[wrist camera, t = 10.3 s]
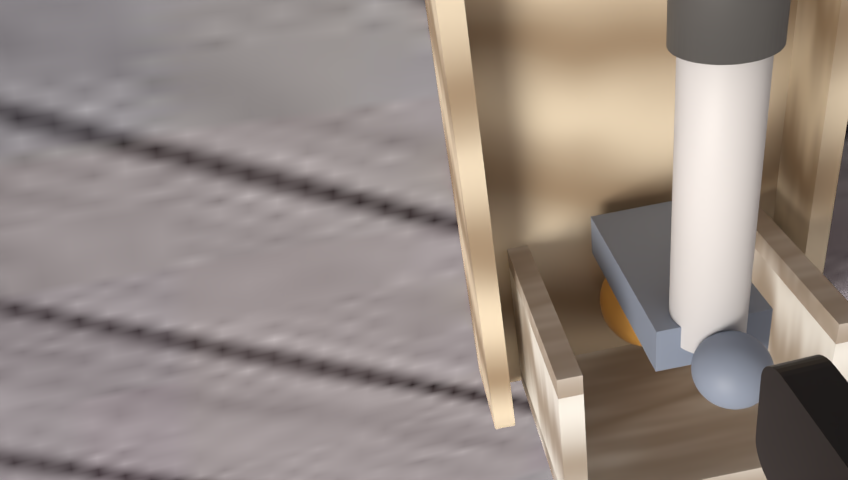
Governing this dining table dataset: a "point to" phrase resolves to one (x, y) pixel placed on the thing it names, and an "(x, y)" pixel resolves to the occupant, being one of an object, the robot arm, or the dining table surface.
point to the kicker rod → (705, 206)
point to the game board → (615, 191)
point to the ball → (616, 315)
